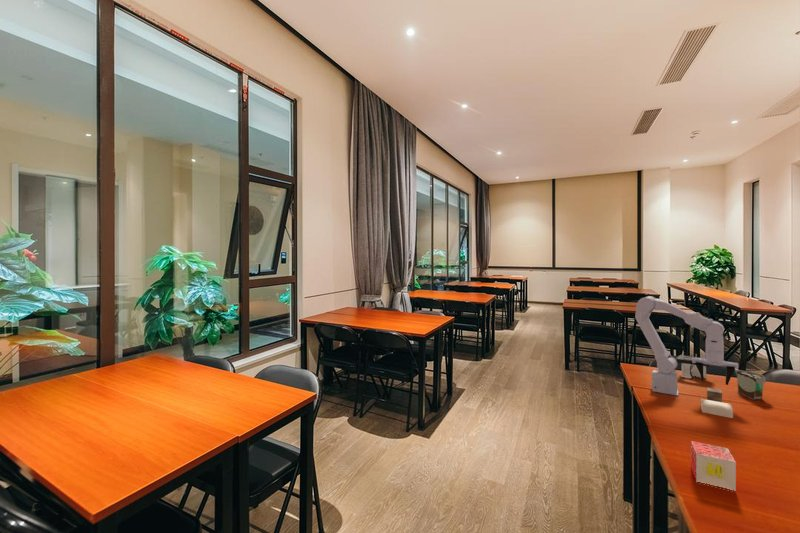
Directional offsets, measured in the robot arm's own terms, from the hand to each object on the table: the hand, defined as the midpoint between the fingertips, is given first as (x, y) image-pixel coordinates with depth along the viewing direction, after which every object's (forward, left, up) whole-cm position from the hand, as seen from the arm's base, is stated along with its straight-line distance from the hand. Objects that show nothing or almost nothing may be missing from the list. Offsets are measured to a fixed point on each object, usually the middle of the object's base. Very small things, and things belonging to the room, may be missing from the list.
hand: (714, 382), depth 148 cm
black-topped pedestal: (-6, +34, -9) cm, 36 cm away
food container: (+14, +18, -8) cm, 24 cm away
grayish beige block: (0, 0, -8) cm, 8 cm away
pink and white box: (-4, -71, -9) cm, 72 cm away
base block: (0, -12, -9) cm, 15 cm away
